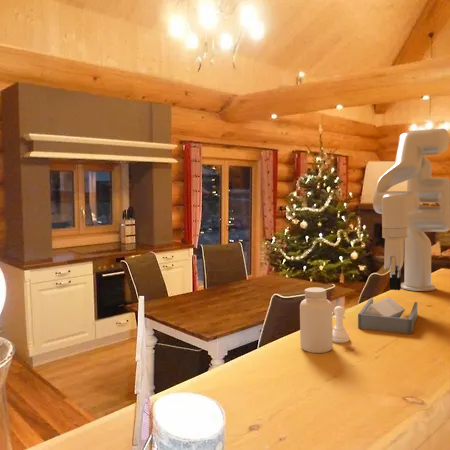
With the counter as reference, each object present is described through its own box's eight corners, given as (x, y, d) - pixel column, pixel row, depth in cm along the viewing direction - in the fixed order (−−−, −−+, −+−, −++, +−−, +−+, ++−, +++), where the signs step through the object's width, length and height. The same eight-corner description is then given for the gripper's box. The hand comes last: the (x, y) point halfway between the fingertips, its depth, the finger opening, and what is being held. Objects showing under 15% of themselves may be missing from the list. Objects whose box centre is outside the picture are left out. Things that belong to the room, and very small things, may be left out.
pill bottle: (297, 351, 112) (296, 292, 111) (304, 341, 119) (303, 285, 118) (329, 355, 109) (329, 294, 108) (334, 344, 116) (334, 286, 115)
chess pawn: (326, 338, 121) (325, 305, 121) (342, 335, 123) (342, 303, 122) (336, 344, 117) (336, 309, 116) (353, 341, 118) (353, 307, 117)
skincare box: (383, 306, 140) (361, 315, 132) (390, 295, 137) (368, 303, 129) (399, 320, 136) (378, 330, 128) (407, 309, 134) (386, 318, 126)
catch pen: (370, 310, 147) (370, 298, 146) (417, 314, 140) (417, 302, 140) (358, 328, 129) (358, 314, 129) (411, 334, 122) (411, 319, 122)
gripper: (385, 229, 152) (386, 282, 154) (378, 236, 138) (379, 294, 141) (409, 229, 148) (410, 284, 150) (404, 236, 135) (405, 296, 137)
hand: (395, 289), depth 146 cm, fingers closed
